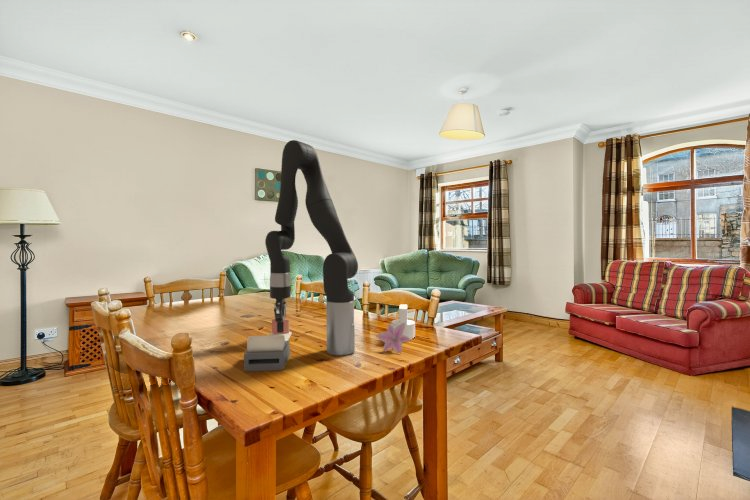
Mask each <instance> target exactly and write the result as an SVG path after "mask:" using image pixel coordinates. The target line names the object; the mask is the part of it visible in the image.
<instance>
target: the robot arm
mask: <svg viewBox="0 0 750 500" xmlns="http://www.w3.org/2000/svg"><path fill="white" fill-rule="evenodd" d="M298 170H300V171H301V172H302V175H303V177H304V181H305V184H306V193H305V208H306V210H307V213H308V217H309V219H310V221H311V223H312V225H313V227H314V228H315V229H316V230H317V232H318V233H319V234H320V235H321V236H322V238H323V239H324V240H325V241H326V243H327V244H328V246H329V249H330V252H331V253H330V254H328V255H327V256H326V257H325V258H324V260H323V264H322V266H323V267H322V281H323V291H324V294H325V297H326V306H325V307H326V353H327V354H329V355H332V356H347V355H351V354H355V353H356V351H355V293H354V291H353V290H351V289H349V283H348V279H353V278H354V277H355V276H356V275H357V273H358V270H359V263H358V260H357V257H356V255H355V253H354V251H353V249H352V247H351V245H350V243H349V241H348V239H347V236H346V234H345V232H344V229H343V226H342V223H341V221H340V219H339V217H338V214H337V209H336V208H335V205H334V202H333V200H332V197H331V195H330V192H329V189H328V186H327V183H326V181H325V179H324V178H325V177H324V175H323V172H322V168H321V164H320V161H319V157H318V153H317V151H316V149H315V148H314V146H312V145H310V144H308V143H305V142H302V141H300V140H297V139H293V140H289V141H288V142H286V143H285V145H284V147H283V150H282V155H281V169H280V185H279V187H280V188H279V196H278V200H277V201H278V202H277V207H276V209H275V210H276V211H275V216H274V222H275V223H276V224H278V225H280V230H270V231H269V232H267V235H266V236H265V242H264V243H265V247H266V248H265V249H266V252H267V255H268V259H269V262H270V264H269V265H270V267H269V269H270V270H269V271H270V272H269V273H270V274H269V297H270V299H273V300H274V299H275V303H274V307H273V308H274V309H273V311H274V319H275V321H276V322H277V332H283V331H284V329H283V322H284V319H286V317H287V306H288V302H287V301H286V299H289V298H291V296H292V283H291V282H292V277H291V261H290V260H291V259H290V258H289V257H288V256H284V255H283V252H282V251H283V250H285V251H287V250H289V249H291V248H292V247H293V245H294V243H295V239H296V238H295V237H296V234H295V233H296V231H295V220H296V216H297V211H298V206H299V200H298V192H297V188H296V177H297V172H298Z"/></svg>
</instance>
